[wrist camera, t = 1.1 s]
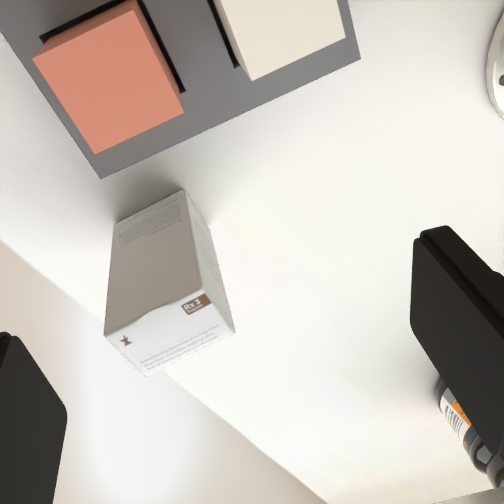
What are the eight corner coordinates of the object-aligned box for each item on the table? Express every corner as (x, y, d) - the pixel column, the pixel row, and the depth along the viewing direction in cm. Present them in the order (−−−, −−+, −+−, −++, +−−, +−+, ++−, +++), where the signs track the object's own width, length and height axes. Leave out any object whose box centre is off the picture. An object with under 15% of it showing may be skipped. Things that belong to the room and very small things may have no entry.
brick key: (134, -4, 22) (132, 9, 19) (178, 85, 25) (184, 112, 21) (49, 37, 23) (31, 58, 19) (101, 121, 25) (94, 154, 22)
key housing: (279, -154, 24) (307, -170, 20) (331, 41, 30) (360, 59, 26) (3, -16, 25) (-24, -4, 21) (106, 146, 31) (100, 179, 27)
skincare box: (144, 262, 36) (144, 385, 27) (110, 220, 34) (96, 339, 24) (213, 227, 36) (240, 339, 26) (184, 181, 33) (202, 287, 23)
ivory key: (288, -79, 22) (316, -80, 18) (315, 21, 25) (345, 37, 21) (198, -36, 22) (209, -28, 19) (236, 58, 25) (251, 81, 21)
